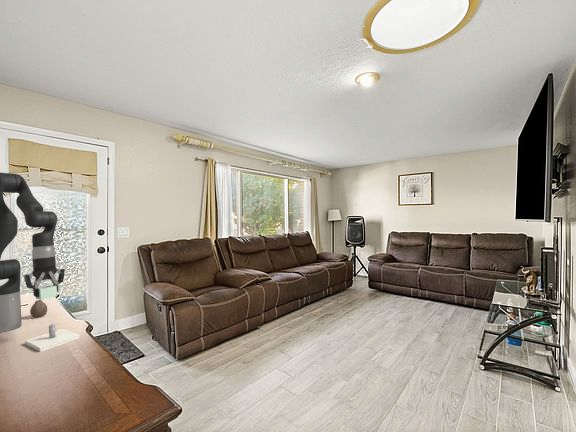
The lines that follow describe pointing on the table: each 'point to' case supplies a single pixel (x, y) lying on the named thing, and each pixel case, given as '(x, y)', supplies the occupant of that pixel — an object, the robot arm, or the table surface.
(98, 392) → the table surface
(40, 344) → the plate
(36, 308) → the vase
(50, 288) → the collar
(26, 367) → the table surface
